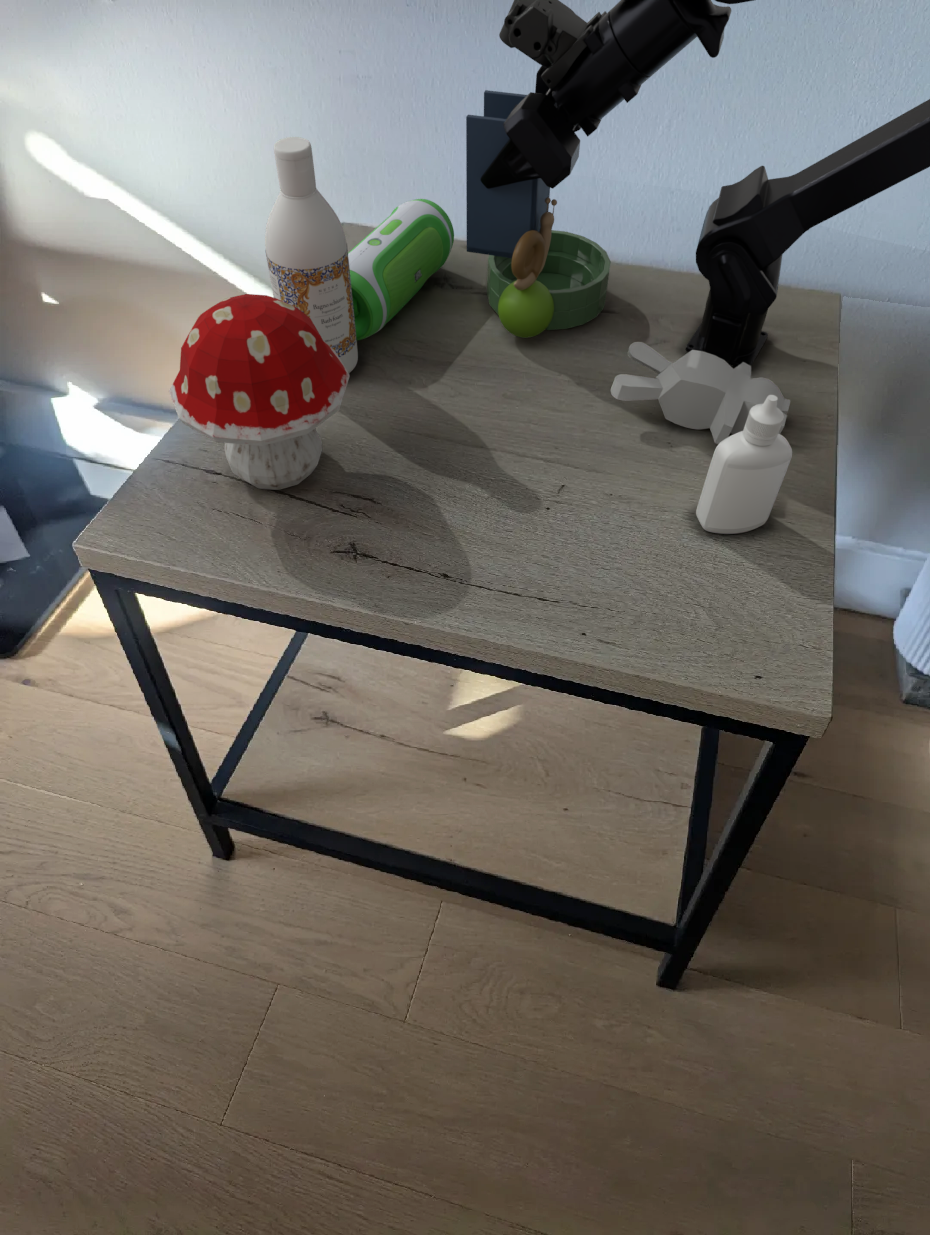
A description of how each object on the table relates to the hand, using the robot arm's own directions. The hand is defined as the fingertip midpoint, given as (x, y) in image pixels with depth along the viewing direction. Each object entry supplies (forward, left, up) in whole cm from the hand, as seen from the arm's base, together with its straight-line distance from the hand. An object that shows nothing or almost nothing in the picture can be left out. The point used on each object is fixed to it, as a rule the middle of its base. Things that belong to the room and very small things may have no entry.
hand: (493, 168), depth 79 cm
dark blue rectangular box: (0, +1, -7) cm, 7 cm away
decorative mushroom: (+31, -4, -14) cm, 34 cm away
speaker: (+5, -9, -14) cm, 17 cm away
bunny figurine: (+7, +25, -14) cm, 29 cm away
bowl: (-3, +5, -14) cm, 15 cm away
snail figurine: (+3, +6, -11) cm, 13 cm away
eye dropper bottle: (+18, +32, -14) cm, 39 cm away
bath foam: (+17, -9, -14) cm, 24 cm away
